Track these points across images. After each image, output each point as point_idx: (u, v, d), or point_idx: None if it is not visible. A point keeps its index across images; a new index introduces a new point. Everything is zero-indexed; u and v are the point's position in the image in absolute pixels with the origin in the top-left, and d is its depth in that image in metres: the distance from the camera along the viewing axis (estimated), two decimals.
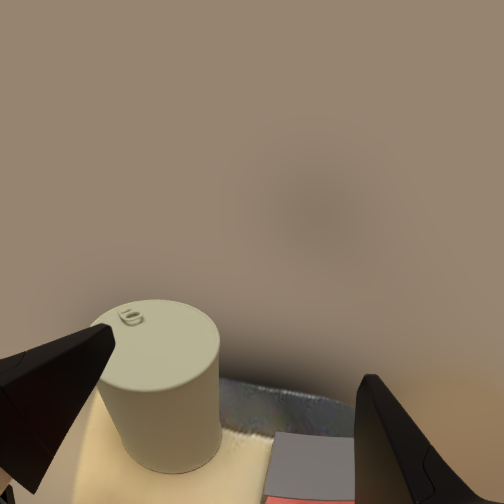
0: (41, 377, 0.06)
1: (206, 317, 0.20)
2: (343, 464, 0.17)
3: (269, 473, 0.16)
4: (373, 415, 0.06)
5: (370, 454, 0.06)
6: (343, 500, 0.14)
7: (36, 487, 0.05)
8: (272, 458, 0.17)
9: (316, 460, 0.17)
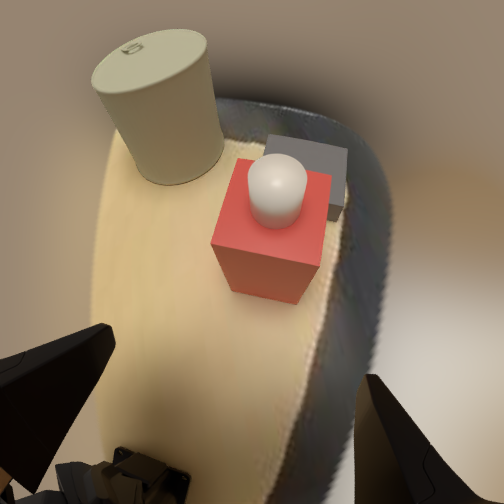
0: (40, 376, 0.06)
1: (197, 33, 0.17)
2: (330, 169, 0.23)
3: None
4: (373, 415, 0.06)
5: (370, 454, 0.06)
6: None
7: (36, 487, 0.05)
8: None
9: (304, 161, 0.23)
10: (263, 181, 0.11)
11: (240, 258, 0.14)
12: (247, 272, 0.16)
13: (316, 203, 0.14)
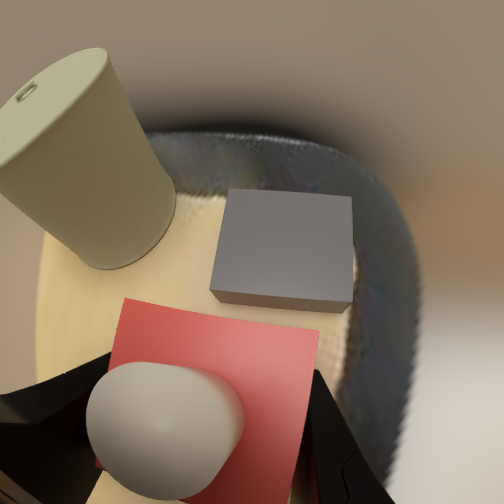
0: (86, 402, 0.06)
1: (100, 50, 0.10)
2: (327, 238, 0.15)
3: (217, 254, 0.15)
4: None
5: (300, 451, 0.06)
6: (326, 301, 0.14)
7: None
8: (222, 230, 0.16)
9: (285, 230, 0.15)
10: (117, 444, 0.03)
11: None
12: None
13: (280, 408, 0.06)
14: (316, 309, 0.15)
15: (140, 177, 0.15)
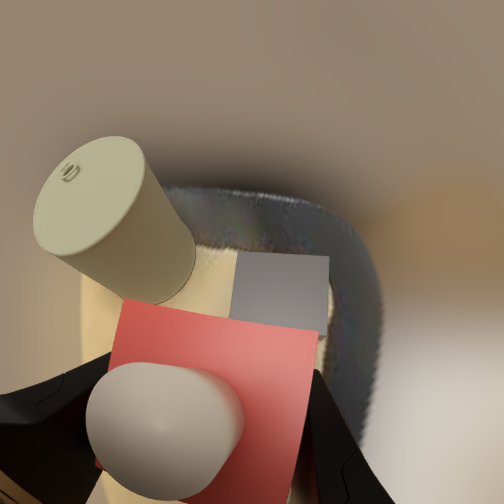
0: (86, 402, 0.06)
1: (135, 146, 0.16)
2: (309, 290, 0.21)
3: (232, 303, 0.21)
4: None
5: (300, 451, 0.06)
6: None
7: None
8: (235, 284, 0.22)
9: (280, 284, 0.21)
10: (116, 445, 0.03)
11: None
12: None
13: (280, 408, 0.06)
14: None
15: (172, 244, 0.21)
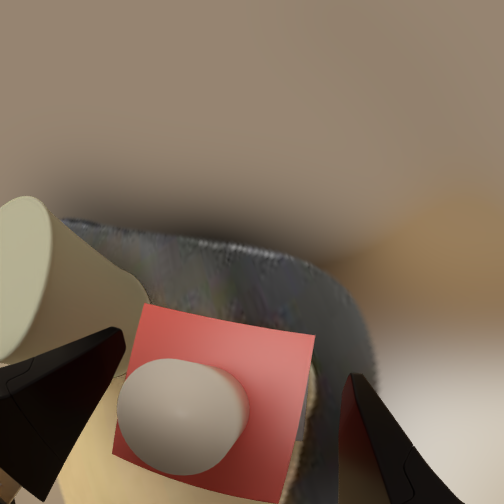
0: (51, 383, 0.06)
1: (44, 218, 0.11)
2: None
3: None
4: (356, 414, 0.06)
5: (353, 454, 0.06)
6: None
7: (46, 494, 0.05)
8: None
9: None
10: (144, 428, 0.04)
11: None
12: None
13: (280, 401, 0.07)
14: None
15: None
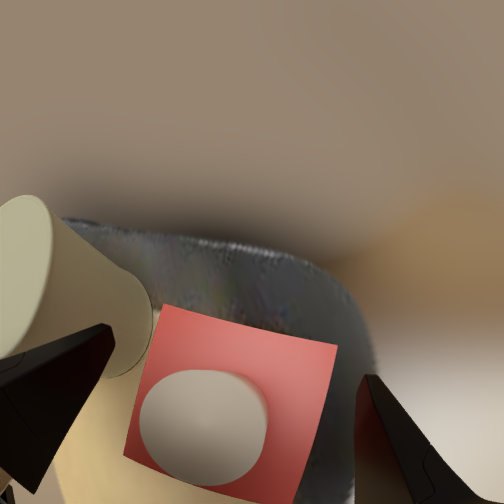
0: (41, 377, 0.06)
1: (45, 216, 0.11)
2: None
3: None
4: (373, 415, 0.06)
5: (370, 454, 0.06)
6: None
7: (36, 487, 0.05)
8: None
9: None
10: (168, 439, 0.04)
11: None
12: None
13: (299, 409, 0.07)
14: None
15: (113, 327, 0.15)
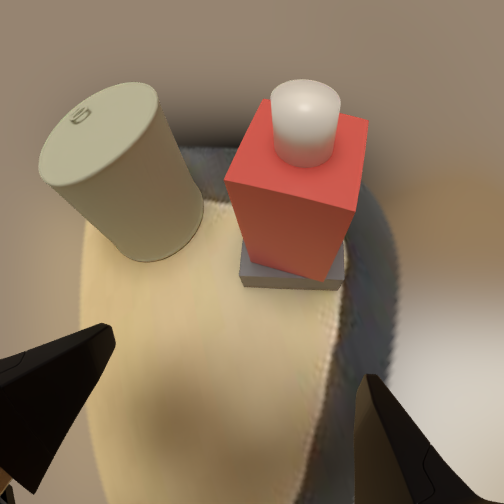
0: (41, 376, 0.06)
1: (148, 87, 0.16)
2: None
3: (243, 249, 0.20)
4: (373, 415, 0.06)
5: (370, 454, 0.06)
6: (325, 279, 0.19)
7: (36, 487, 0.05)
8: None
9: None
10: (288, 102, 0.09)
11: (259, 203, 0.12)
12: (268, 228, 0.14)
13: (351, 145, 0.11)
14: (318, 288, 0.21)
15: (181, 189, 0.20)
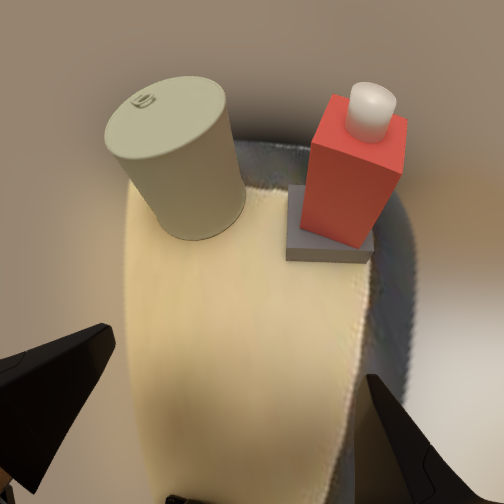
0: (41, 377, 0.06)
1: (211, 81, 0.19)
2: None
3: (288, 226, 0.23)
4: (373, 415, 0.06)
5: (370, 454, 0.06)
6: (358, 251, 0.22)
7: (36, 487, 0.05)
8: (289, 211, 0.24)
9: None
10: (364, 95, 0.12)
11: (332, 164, 0.15)
12: (330, 189, 0.17)
13: (396, 133, 0.14)
14: (350, 260, 0.24)
15: (234, 173, 0.23)
